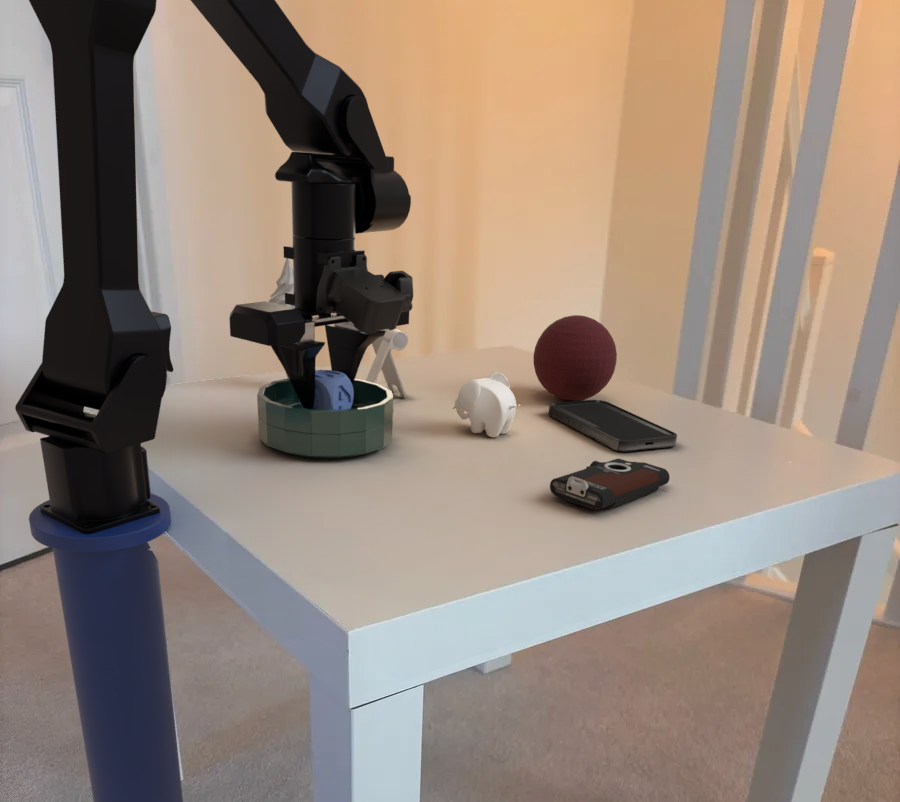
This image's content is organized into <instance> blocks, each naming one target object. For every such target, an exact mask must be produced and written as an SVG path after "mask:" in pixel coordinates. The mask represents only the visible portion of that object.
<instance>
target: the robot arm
mask: <svg viewBox="0 0 900 802" xmlns="http://www.w3.org/2000/svg"><path fill="white" fill-rule="evenodd" d="M28 2H29V4H30V6H31V8H32V10H33V12H34V14H35V16H36V17H37V19H38V21H39V24H40V26H41V28H42V30H43V32H44V34H45V36H46V37H47V39H48V41H49V44H50V49H51V56H52V57H51V58H52V75H53V76H52V77H53V92H54V93H53V95H54V96H53V97H54V111H55V112H54V113H55V114H54V115H55V131H56V153H57V167H58V168H57V169H58V185H59V205H60V207H59V209H60V221H61V222H60V225H61V244H62V261H63V263H62V264H63V280H62V281H63V282H62V286H61V288H60V290H59V292H58V293H57V296H56V298H55V299H54V301H53V304H52V306H51V307H50V310H49V312H48V313H47V316H46V319H45V321H44V322H45V323H44V332H43V333H44V334H43V344H42V345H43V347H42V359H41V363H40V365H39V367H38V368H37V369H36V371H35V373H34V375H33V376H32V377H31V380H30V381H29V383H28V384H27V386H26V388H25V389H24V391H23V393H22V394H21V396H20V397H19V399H18V401H17V402H16V404H15V406H14V407H15V409H14V410H15V412H16V415H17V416H18V418H19V419H20V422H21V423H22V425H23V427H24V429H25V430H26V431H28V432H30V433H38V434H40V435H44V436H45V437H41V438H39V442H40V449H41V454H42V461H43V467H44V474H45V480H46V485H47V491H48V497H49V499H48V500H50V503H48V504H44V505H41V506H40V511H41V513H43V514H45V515H47V516H49V517H51V518H53V519H55V520H57V521H59V522H61V523H63V524H65V525H67V526H69V527H71V528H73V529H75V530H77V531H79V532H81V533H83V534H93V533H96V532H100V531H103V530H106V529H109V528H112V527H116V526H119V525H122V524H125V523H129V522H132V521H135V520H138V519H142V518H145V517H148V516H151V515H155V514H158V513H159V512H160V507H159V506H158V505H156V504H154V503H152V502H149V501H147V500H148V499H150V497H151V493H152V491H151V481H150V472H149V463H148V454H147V452H148V451H147V449H146V448H145V447H144V446H142V444H144V443H147V442H149V441H150V442H151V441H153V440H155V438H156V435H157V429H158V423H159V416H160V411H161V405H162V399H163V397H164V394H165V392H166V389H167V381H168V380H167V379H168V374H167V373H168V372H169V373H173V372H174V366H173V363H172V359H171V353H170V344H171V343H170V342H171V333H172V325H171V321H170V317H169V315H168V314H166V313H162V312H157V311H152V310H151V308H150V306H149V305H148V303H147V300H146V299H145V297H144V295H143V292H142V291H141V287H140V280H139V279H140V278H139V275H140V273H139V242H138V241H139V240H138V239H139V237H138V236H139V235H138V199H137V198H138V197H137V155H136V154H137V152H136V150H137V149H136V117H135V116H136V115H135V114H136V113H135V112H136V111H135V74H134V72H135V71H134V66H135V65H134V64H135V57H136V54H137V51H138V49H139V47H140V45H141V43H142V41H143V39H144V37H145V35H146V33H147V30H148V29H149V26H150V24H151V22H152V20H153V18H154V16H155V13H156V11H157V2H158V1H157V0H28ZM190 2H191V3H192V4H193V5H194V6H195V8H196V9H197V10H198V11H199V13H200V14H201V15H202V17H204V19H205V21H207V23H208V24H209V25H210V26H211V27H212V29H213V31H215V32H216V33H217V35H218V36H219V38H221V40H222V41H223V42H224V44H225V45H226V46H227V47H228V48H229V49H230V51H231V52H232V53H233V54H234V55H235V57H236V58H237V59H238V60H239V61H240V63H241V64H242V66H244V69H246V70H247V72H248V73H249V74H250V75H251V77H252V78H253V79H254V80H255V81H256V83H257V84H258V86H259V87H260V89H261V91H262V92H263V94H264V96H263V97H264V108H265V114H266V115H267V117H268V119H269V121H270V123H271V124H272V126H273V128H274V129H275V131H276V132H277V134H278V136H279V137H280V139H281V141H282V142H283V144H284V145H285V146H286V147H287V148H288V149H290V150H291V152H290V154H289V156H288V158H287V159H286V161H285V162H283V164H281V165H280V166H279V167H278V168H277V170H276V171H275V174H274V178H275V180H276V181H278V182H285V183H287V182H288V183H290V184H291V215H292V216H291V219H292V220H291V224H292V245H283V258H284V259H286V258H288V259H289V260H292V263H293V264H292V269H293V278H294V292H286V293H285V304H289V305H293V306H295V308H293V307H289V306H284V305H280V304H275V303H270V302H268V301H266V300H265V301H255V302H247V303H240V304H235V305H234V307H233V309H232V310H231V311H230V313H229V317H228V318H229V319H228V320H229V334H230V337H232V338H236V339H240V340H243V341H248V342H251V343H255V344H260V345H264V346H268V347H271V349H272V351H273V352H274V354H275V356H276V357H277V360H278V361H279V363H280V364H281V366H282V367H283V369H284V372H285V374H287V375H288V377H289V380H290V382H291V384H292V386H293V388H294V390H295V392H296V394H297V396H298V398H299V400H300V402H301V404H302V406H303V408H306V409H313V406H314V398H315V370H316V359H317V355H318V354H319V353H320V351H321V350H322V349H323V348H324V347H325V345H326V343H327V350H328V356H329V361H330V368H331V369H330V370H334V371H339V372H342V373H344V374H345V375H346V376H347V377H348V378H349V380H350V381H351V383H352V386H353V383H354V380H355V379H356V378H357V374H358V370H359V367H360V365H361V362H362V360H363V358H364V355H365V353H366V351H367V350H368V347H370V346H371V345H372V343H373V342H374V341H375V340H376V339H378V338H379V337H382V336H384V335H385V333H386V331H385V330H384V329H389V330H394V329H397V327H399V326H405V325H410V311H412V309H413V299H414V283H413V281H414V279H413V276H411V275H410V274H409V273H408V272H406V271H404V270H396V271H395V270H394V271H389V272H388V273H387V274H386V275H384V274H380V273H379V274H375V273H372V272H370V271H369V269H368V258H367V255H366V253H365V252H366V251H365V250H363V249H362V250H361V249H356V235H358V234H368V233H378V232H379V233H380V232H389V231H394V230H397V229H398V228H400V227H402V225H403V224H404V223H405V222H406V220H407V218H408V217H409V214H410V211H411V204H412V196H411V195H410V191H409V188H408V185H407V183H406V181H405V179H404V178H403V176H402V175H401V174H400V173H398V172H397V171H396V170H395V157H394V156H390V155H389V156H388V155H386V152H385V150H384V147H383V144H382V141H381V139H380V135H379V132H378V130H377V127H376V125H375V121H374V119H373V116H372V113H371V110H370V107H369V103H368V100H367V98H366V96H365V93H364V92H363V89H362V88H361V87H360V86H359V84H358V83H357V82H356V81H354V79H353V78H352V77H351V76H350V75H349V74H348V73H347V71H345V70H344V69H343V68H342V67H341V66H340V65H338V64H336V63H333V62H332V61H330V60H329V59H327V58H325V57H323V56H322V55H320V54H318V53H316V52H315V51H314V50H313V49H312V48H311V47H310V46H309V45H308V44H307V43H306V42H305V40H304V38H303V37H302V36H301V34H300V33H299V32H298V30H297V29H296V28H295V26H294V25H293V24H292V22H291V20H290V19H289V18H288V16H287V15H286V13H285V12H284V10H283V9H282V7H281V6H280V5H279V4H278V2H277V1H276V0H190ZM323 326H324V329H325V336H326V342H325V341H322V340H317V339H316V338H315V337H316V334H315V333H316V332H315V330H316V329H315V328H317V327H323ZM287 375H286V376H287ZM85 408H89V409H92V410H96V411H97V414H95V413H89V412H85V411H84V410H85Z"/></svg>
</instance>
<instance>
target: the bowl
mask: <svg viewBox="0 0 900 802" xmlns="http://www.w3.org/2000/svg"><path fill="white" fill-rule="evenodd" d="M353 391H354V397H353V403H352V406H351V409H342V410H323V409H306V408H302V407H301V405H300V403H299V398H298V396H297V394H296V392H295V390H294V388H293V386H292V384H291V382H290V380H289V378H283V379H279V380H274V381H270V382H268V383H266V384H264V385H263V386H260V387H259V388H258V391H257V395H256V400H257V422H258V423H257V424H258V438H259V440H260V441H262V442H263V443H264V444H265V445H266V446H267V447H269V448H273V449H275V450H278V451H281V452H284V453H287V454H290V455H294V456H298V457H302V458H310V459H344V458H352V457H353V458H354V457H358V456H362V455H365V454H369V453H372V452H376V451H377V450H381V449H384V448H385V447H386V446H388V445H389V444H390V443H391V442H392V441H393V426H394V425H393V424H394V420H393V419H394V396H393V391H391V390H390V389H389V388H388V387H386V386H384V385H382V384H380V383H376V382H375V383H372V382H369V381H366V379H365V380H364V379H359V378H355V380H354V383H353Z"/></svg>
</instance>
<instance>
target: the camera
mask: <svg viewBox="0 0 900 802" xmlns="http://www.w3.org/2000/svg"><path fill="white" fill-rule="evenodd" d="M670 478H671V477H670V473H669V471H668V470H667V469H665V468H664V467H660V466H656V465H653V464H650V463H647V462H642V461H641V462H639V461H629V460H625V459H621V458H615V459H612V460H608V461H603V462H602V461H598V460H593V461H592V462H591V463H590V464H589V466H586V467H585V468H584V469H581V470H577V471H574V472H571V473H567V474H565V475H561V476H558V477H555V478H552V479H551V480H550V483H549V490H550V492H551V494H553V496H555V497H557V498H559V499H562V500H564V501H566V502H569V503H572V504H576V505H578V506H581V507H585V508H589V509H592V510H593V511H594V510H595V511H597V510H601V509H604V508H606V509H612V508H614V507H618V506H619V505H623V504H625V503H628V502H630V501H633V500H636V499H638V498H641V497H644V496H646V495H649V494H651V493H655V492H657V491H658V490H659V489H660V487H663V486H664V485H667V484H668V483H669V482H670Z"/></svg>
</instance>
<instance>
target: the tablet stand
mask: <svg viewBox="0 0 900 802" xmlns="http://www.w3.org/2000/svg"><path fill="white" fill-rule="evenodd" d="M384 330H385V331H386V333H385V335H384V336H382V337H379V338H378V339H376V340H375V341H374V342H373V343H372V344H371V346H372V348H373V351H374V354H375V357H374V359H373V362H372V364H371V367H370V369H369V372H368V374H367V376H366V379H365V381H369V382H372V383H376V382H377V380H378V377H379V375H380V372H382V375H383V377H384V380H385V383H386V385H387V389H389V390H391V391H392V393H395V392H396V389H395V387H396V388H397V391H398V393H399V395H400V397H401V398H403V399H406V398H407V397H408V396H407V393H406V391H405V389H404V385H403V383H402V380H401V377H400V373H399V372H398V369H397V367H396V363H395V361H394V358H393V355H392V350H395V351H397V352H400V351H403V350H405V349H406V347H407V346H408V343H409V337H408V335H407V334H406V332H404V331H402V330H400V329H398V328H396V329H394V330H389V329H384Z"/></svg>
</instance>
